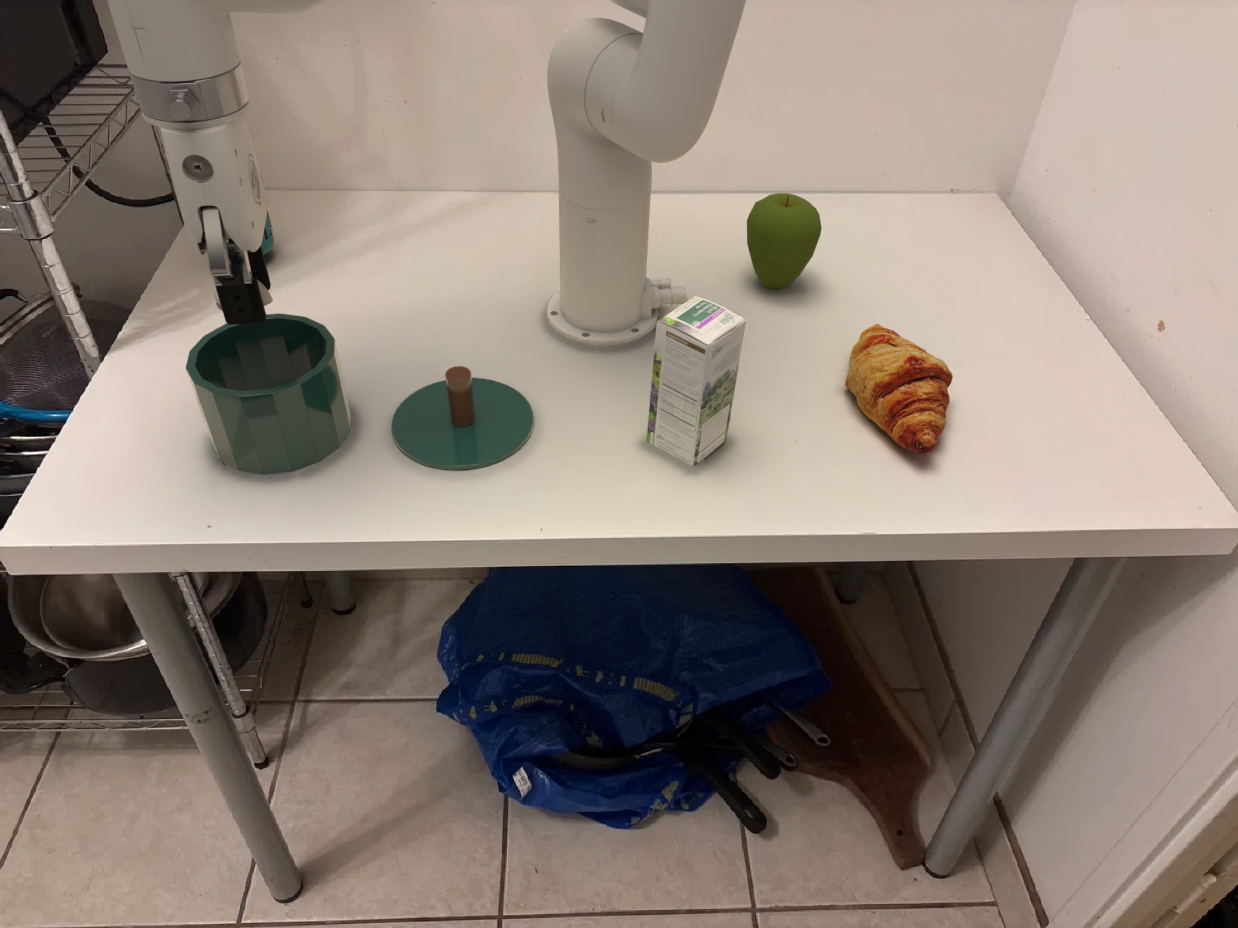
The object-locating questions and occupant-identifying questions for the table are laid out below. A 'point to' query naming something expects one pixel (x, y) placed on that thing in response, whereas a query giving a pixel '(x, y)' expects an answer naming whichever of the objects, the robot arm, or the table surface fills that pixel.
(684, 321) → the syrup box
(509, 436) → the lid
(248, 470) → the canister
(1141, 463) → the table surface
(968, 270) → the table surface
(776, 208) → the apple
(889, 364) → the croissant
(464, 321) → the table surface
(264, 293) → the beige teardrop wedge
